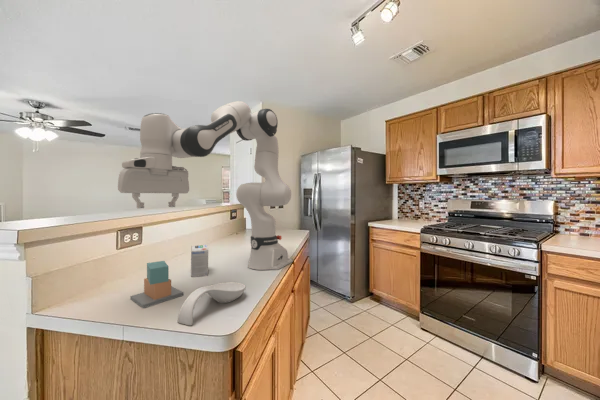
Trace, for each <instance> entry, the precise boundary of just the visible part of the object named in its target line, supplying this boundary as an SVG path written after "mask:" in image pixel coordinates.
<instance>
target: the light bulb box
mask: <svg viewBox="0 0 600 400" xmlns="http://www.w3.org/2000/svg"><path fill="white" fill-rule="evenodd" d="M190 252H191V254H190V277H191V278H196V277H197V278H198V277H204V276H205V277H206V276H209V247H208V244H203V245H202V244H201V245H199V244H198V245H191V251H190Z"/></svg>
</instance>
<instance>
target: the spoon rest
mask: <svg viewBox="0 0 600 400" xmlns="http://www.w3.org/2000/svg"><path fill="white" fill-rule="evenodd" d="M245 290H246V285H245V284H243V283H242V282H235V281H226V282H217V283H214V284H211V285H206V286H201V287H198V288H196V289H195V290H193V291H192V292H191V293H189V295H188V296H187V298H186V299H185V300H184V301H183V303H182V306H181V307H180V310H179V312H178V316H177V323H178V324H181V325H184V326H185V325H186V326H193V324H194V320H193V318H194V309H195V306H196V304H197V302H198V301H199V300H200V298H202V296H203V295H205V294H207V295H209V296H210V297H211V298H212V299H213V300H215V301H216V302H217V303H222V304H225V303H226V304H227V303H230V302H233V301H235V300H236V299H238V298H240V297H241V296H242V295H243V294H244V292H245Z"/></svg>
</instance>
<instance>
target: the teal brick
mask: <svg viewBox="0 0 600 400" xmlns="http://www.w3.org/2000/svg"><path fill="white" fill-rule="evenodd" d="M169 272H170V271H169V265H168V264H167V262H166V261H165V260H160V261H153V262H147V263H146V278H147V279H148V281H149V283H150V285H152V284H157V283H162V282H167V281H169V279H170V278H169Z"/></svg>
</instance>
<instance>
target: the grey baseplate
mask: <svg viewBox="0 0 600 400" xmlns="http://www.w3.org/2000/svg"><path fill="white" fill-rule="evenodd" d="M184 293H185V292H184V291H182V290H180V289H178V288H176V287H174V286H172V285H171V295H169V296H166V297H162V298H159V299H156V300H154V299H152V298H151V297H149V296H148V295H146V294H145V293H144V291H143V292H140V293H137V294H132V295H130V297H129V299H130V300H131V301H132V302H134V303H135V304H136V305H138V306H139V307H141V309H145V308H148V307H151V306H154V305H158V304H160V303H164V302H166V301H170V300H173V299H176V298H179V297H182V296H184Z"/></svg>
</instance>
